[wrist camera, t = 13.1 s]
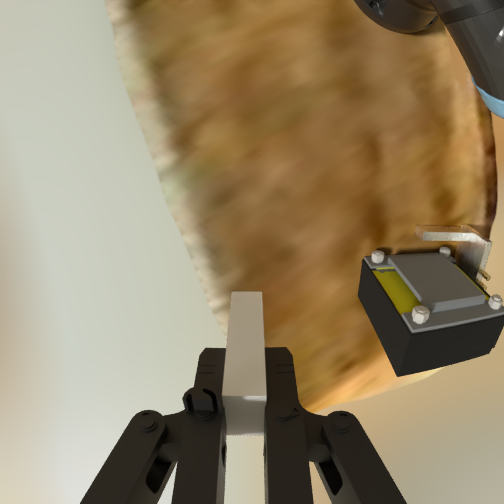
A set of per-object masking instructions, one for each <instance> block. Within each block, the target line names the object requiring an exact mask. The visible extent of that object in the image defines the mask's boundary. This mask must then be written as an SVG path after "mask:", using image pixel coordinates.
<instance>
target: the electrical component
mask: <svg viewBox="0 0 504 504" xmlns="http://www.w3.org/2000/svg"><path fill="white" fill-rule="evenodd" d="M455 261H456V260H455V259H454V258H453V257H452V256H451V255H450V249H449V248H448V247H440V251H439V252H432V253H416V254H400V255H384V252H382V251H379V250H375V251H373V252H372V256H367V257H365V258H364V259H363V260H362V268H361V276H360V284H359V291H358V297H359V299H360V301H361V303H362V305H363V307H364V309H365V311H366V313H367V315H368V317H369V319H370V321H371V323H372V325H373V327H374V329H375V331H376V333H377V335H378V337H379V339H380V342H381V344H382V346H383V348H384V350H385V352H386V354H387V356H388V358H389V361H390V363H391V365H392V367H393V369H394V371H395V374H396V376H397V377H400V376H405V375H410V374H414V373H419V372H423V371H428V370H432V369H436V368H440V367H444V366H448V365H452V364H455V363H459V362H463V361H466V360H470V359H473V358H477V357H480V356H483V355H486V354H489V353H490V351H491V349H492V348H494V347H495V345H496V342H497V340H498V338H499V336H500V334H501V331H502V329H503V326H504V306H503V305H502V302H503V300H502V298H501V297H500V296H499V295H497V294H496V295H493V296H490V295H489V294H488V293H487V292H486V291H485V290H484V289H483V288H482V287H481V286H480V285H479V284H478V283H477V282H476V281H475V280H474V279H472V278H471V277H470V276H469V275H468V274H467V273H466V272H465V271H464V270H463V269H462V268H461V267H460V266H459V265H458V264H457V263H456V262H455Z"/></svg>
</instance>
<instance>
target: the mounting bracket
mask: <svg viewBox="0 0 504 504" xmlns="http://www.w3.org/2000/svg"><path fill="white" fill-rule="evenodd" d="M415 234H416V235H417V236H418V237H419V238H420V239H422V240H436V241H458V243H457V247H456V251H455V255H454V259H455V260H456V261H455V262H456V263H457V264H458V265H459V266H460V267H461V268H462V269H463V270H464V271H465V272H466V273H467V274H468V275H469V276H470V277H471V278H472V279H474V280H475V281H476V282H477V283H478V284H479V285H480V286H481V287H482V288H483V289H484V290H486V288H487V287H486V286H485V285H484V284H483V283H482V282H481V279H482V276H483V277H484V278H485V279H486V280H487V281H489V280H490V276H489V275H488V274H487V273H486V272H485V271H484V269H485V266H486V263H487V259H488V256H489V252H490V249H491V245H492V241H490V240H489V239H487V238H486V237H485V236H483V235H482V234H480V233H479V232H478V231H476V230H475V229H473V228H472V227H470V226H469V225H467V224H462V226H461V227H455V226H428V225H416V229H415Z"/></svg>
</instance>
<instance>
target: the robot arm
mask: <svg viewBox="0 0 504 504" xmlns="http://www.w3.org/2000/svg"><path fill="white" fill-rule="evenodd" d="M354 1H355V3H356V4H357V5H358V7H359V8H360V9H361V10H362V11H363V12H364V13H365V14H366V15H367V16H368V17H369V18H370V19H371V20H373V21H374V22H376V23H377V24H379V25H380V26H382V27H384V28H386V29H389V30H392V31H395V32H399V33H415V32H418V31H421V30H424V29H426V28H428V27H430V26H431V25H432V24H433V23H434V22H435V21H436V20H437V18H438V16H440V18H441V20H442V21H443V23H444V25H445V26H446V28H447V30H448V31H449V33H450V35H451V36H452V38H453V40H454V42H455V44H456V45H457V47H458V49H459V51H460V53H461V55H462V57H463V59H464V60H465V62H466V64H467V66H468V68H469V71H470V73H471V75H472V81H473V83H474V85H475V86H476V88H477V89H478V90H479V92H480V94H481V97H482V99H483V101H484V103H485V105H486V106H487V107H488V108H489V110H490V111H491V112H493V113H494V114H495V115H497V116H499V117H501V118H503V119H504V0H354ZM182 399H183V403H184V406H185V409H184V410H183V411H181V412H179V413H175V414H170V415H165V416H162V415H161V414H160V413H158V412H157V411H153V410H144V411H141V412H139V413H137V414H136V415H135V416H134V417H133V418H132V419H131V421H130V423H129V424H128V426H127V427H126V429H125V431H124V432H123V434H122V436H121V437H120V439H119V440H118V442H117V444H116V445H115V447H114V449H113V450H112V452H111V453H110V455H109V457H108V458H107V460H106V462H105V463H104V465H103V466H102V468H101V470H100V471H99V473H98V474H97V476H96V478H95V479H94V481H93V483H92V485H91V486H90V488H89V489H88V491H87V493H86V494H85V496H84V498H83V499H82V501H81V502H80V504H157V503H158V501H159V499H160V497H161V495H162V492H163V490H164V488H165V486H166V484H167V482H168V480H169V478H170V476H171V473H172V471H173V469H174V467H175V465H176V463H177V469H176V476H175V482H174V489H173V496H172V503H171V504H224V491H225V471H226V453H227V452H226V451H227V445H226V433H227V435H264V453H263V455H264V478H265V504H314V503H313V494H312V485H311V476H310V467H309V461H311V462H314V464H315V466H316V469H317V471H318V473H319V475H320V478H321V480H322V482H323V484H324V487H325V489H326V491H327V493H328V495H329V498H330V500H331V502H332V504H407V503H406V501H405V500H404V498H403V496H402V494H401V493H400V491H399V489H398V488H397V486H396V484H395V482H394V481H393V479H392V477H391V476H390V474H389V472H388V470H387V469H386V467H385V465H384V463H383V462H382V460H381V458H380V457H379V455H378V453H377V452H376V450H375V448H374V446H373V445H372V443H371V441H370V439H369V438H368V436H367V435H366V433H365V431H364V430H363V428H362V426H361V424H360V422H359V421H358V419H357V418H356V417H355V416H354V415H353V414H351V413H349V412H346V411H334V412H332V413H330V414H328V416H322V415H317V414H313V413H310V412H308V411H306V410H305V409H304V408H303V407H302V406H301V404H300V403H299V400H298V393H297V386H296V378H295V371H294V364H293V356H292V354H291V353H290V351H289V350H288V349H287V347H273V348H264V327H263V305H262V292H232V294H231V304H230V315H229V325H228V335H227V346H226V348H205V349H204V350H203V352H202V353H201V354H200V356H199V361H198V367H197V373H196V378H195V383H194V387H193V388H191V389H189V390H188V391H187V392H186V393H185V394H184V396H183V398H182ZM177 461H178V462H177Z"/></svg>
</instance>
